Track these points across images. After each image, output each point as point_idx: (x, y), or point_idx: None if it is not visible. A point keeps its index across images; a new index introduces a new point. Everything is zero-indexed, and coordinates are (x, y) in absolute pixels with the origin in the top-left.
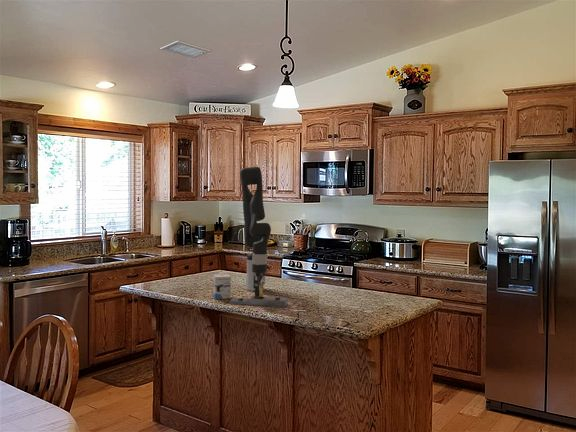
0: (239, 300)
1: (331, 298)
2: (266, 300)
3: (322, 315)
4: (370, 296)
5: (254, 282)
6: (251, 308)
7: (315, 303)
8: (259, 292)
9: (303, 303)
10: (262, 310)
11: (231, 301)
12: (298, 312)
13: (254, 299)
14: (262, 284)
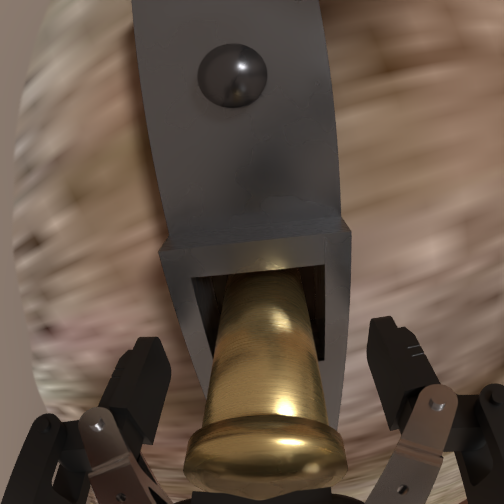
0: (186, 82)
1: (454, 466)
2: (206, 391)
3: (175, 499)
4: (462, 489)
5: (16, 488)
6: (79, 277)
7: (368, 476)
8: (160, 409)
9: (361, 458)
10: (84, 355)
11: (135, 14)
12: (166, 468)
13: (174, 298)
14: (268, 498)
